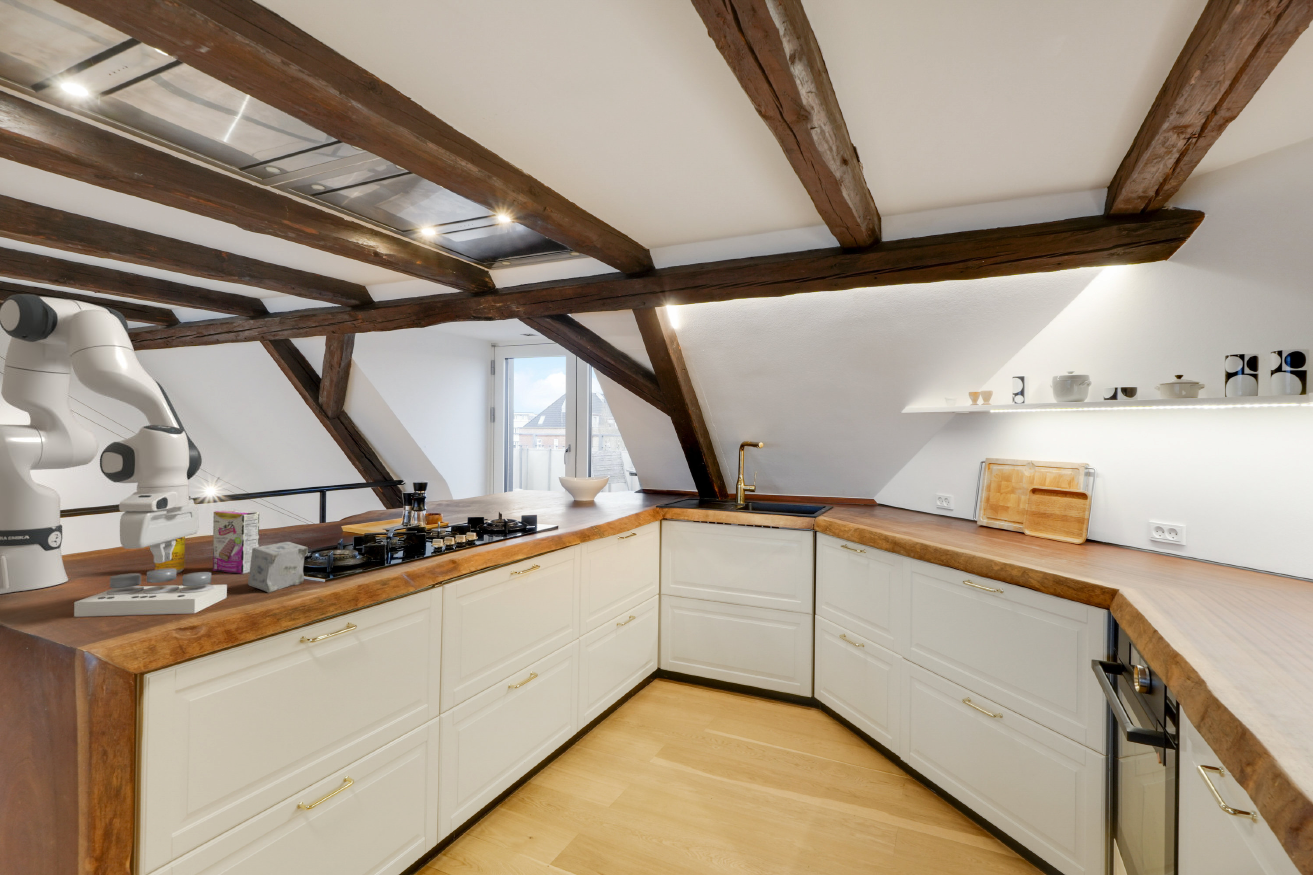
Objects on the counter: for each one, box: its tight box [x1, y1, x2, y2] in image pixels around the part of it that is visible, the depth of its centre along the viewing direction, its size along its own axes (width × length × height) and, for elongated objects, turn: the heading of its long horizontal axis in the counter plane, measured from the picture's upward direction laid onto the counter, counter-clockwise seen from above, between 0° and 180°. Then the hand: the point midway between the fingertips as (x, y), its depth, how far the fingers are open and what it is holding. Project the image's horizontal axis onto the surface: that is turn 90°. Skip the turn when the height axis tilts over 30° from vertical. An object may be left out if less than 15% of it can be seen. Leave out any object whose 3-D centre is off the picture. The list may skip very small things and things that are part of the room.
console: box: [73, 583, 228, 618], centre depth 127 cm, size 22×12×3 cm, turn 99°
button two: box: [109, 572, 142, 589], centre depth 128 cm, size 5×5×2 cm
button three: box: [146, 568, 177, 584], centre depth 129 cm, size 5×5×2 cm
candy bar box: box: [212, 509, 260, 575], centre depth 160 cm, size 11×5×16 cm, turn 73°
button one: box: [182, 571, 212, 587], centre depth 130 cm, size 5×5×2 cm
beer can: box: [154, 536, 186, 574], centre depth 158 cm, size 6×6×15 cm
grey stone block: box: [247, 541, 309, 594], centre depth 145 cm, size 10×8×10 cm
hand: (162, 561), depth 129 cm, fingers closed
